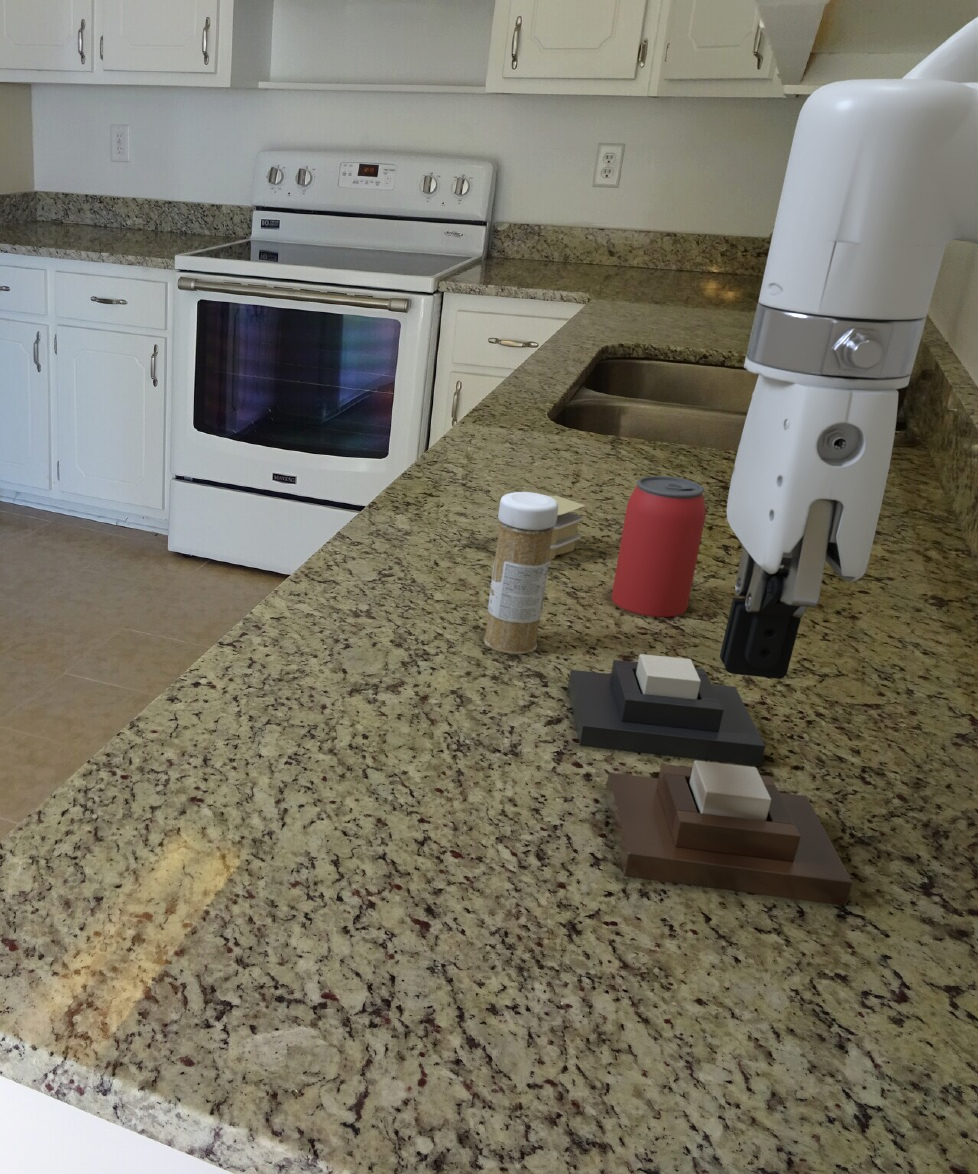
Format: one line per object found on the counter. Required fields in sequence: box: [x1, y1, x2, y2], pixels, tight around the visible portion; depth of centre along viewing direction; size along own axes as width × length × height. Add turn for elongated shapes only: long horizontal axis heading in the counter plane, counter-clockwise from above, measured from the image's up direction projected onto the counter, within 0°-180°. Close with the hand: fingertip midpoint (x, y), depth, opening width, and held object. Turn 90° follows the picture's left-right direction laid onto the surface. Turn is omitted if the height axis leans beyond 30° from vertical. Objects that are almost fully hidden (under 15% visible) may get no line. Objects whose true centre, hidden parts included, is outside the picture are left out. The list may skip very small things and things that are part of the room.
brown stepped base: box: [604, 763, 853, 907], centre depth 68 cm, size 12×9×4 cm
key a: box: [689, 759, 771, 821], centre depth 67 cm, size 4×4×2 cm
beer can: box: [611, 475, 707, 618], centre depth 101 cm, size 7×7×12 cm
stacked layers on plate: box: [548, 494, 586, 561], centre depth 115 cm, size 10×9×6 cm
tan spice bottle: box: [483, 491, 558, 655], centre depth 92 cm, size 5×5×13 cm
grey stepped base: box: [567, 659, 766, 767], centre depth 81 cm, size 12×9×4 cm
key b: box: [636, 653, 701, 699], centre depth 80 cm, size 4×4×2 cm
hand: (751, 669), depth 63 cm, fingers closed
